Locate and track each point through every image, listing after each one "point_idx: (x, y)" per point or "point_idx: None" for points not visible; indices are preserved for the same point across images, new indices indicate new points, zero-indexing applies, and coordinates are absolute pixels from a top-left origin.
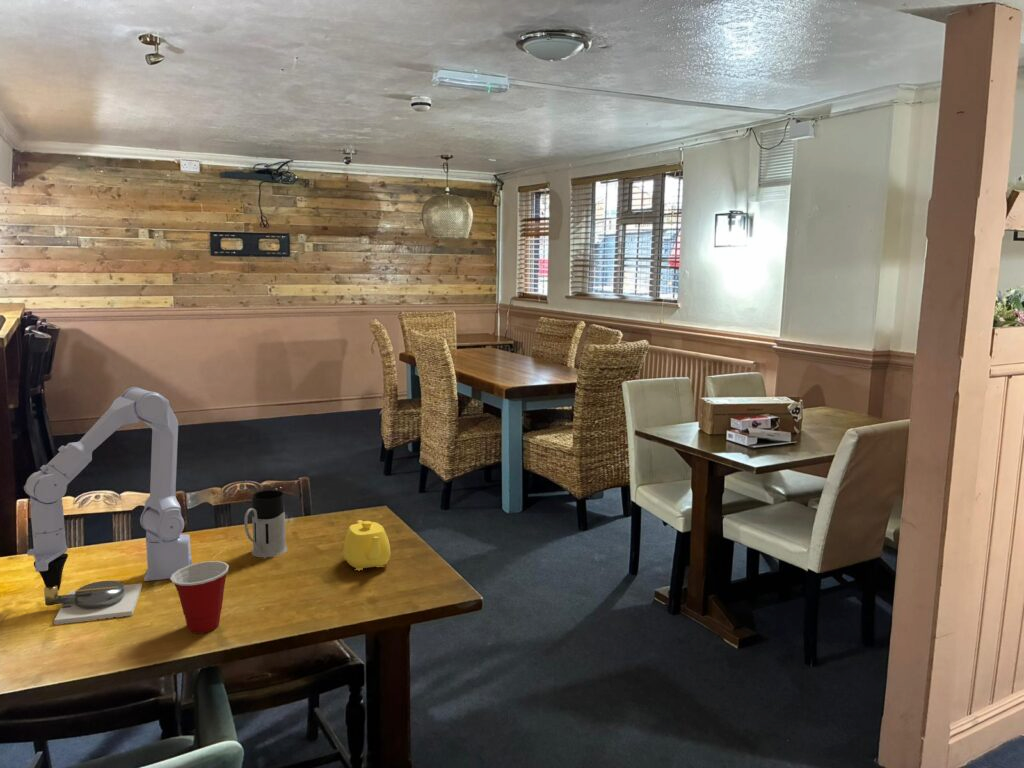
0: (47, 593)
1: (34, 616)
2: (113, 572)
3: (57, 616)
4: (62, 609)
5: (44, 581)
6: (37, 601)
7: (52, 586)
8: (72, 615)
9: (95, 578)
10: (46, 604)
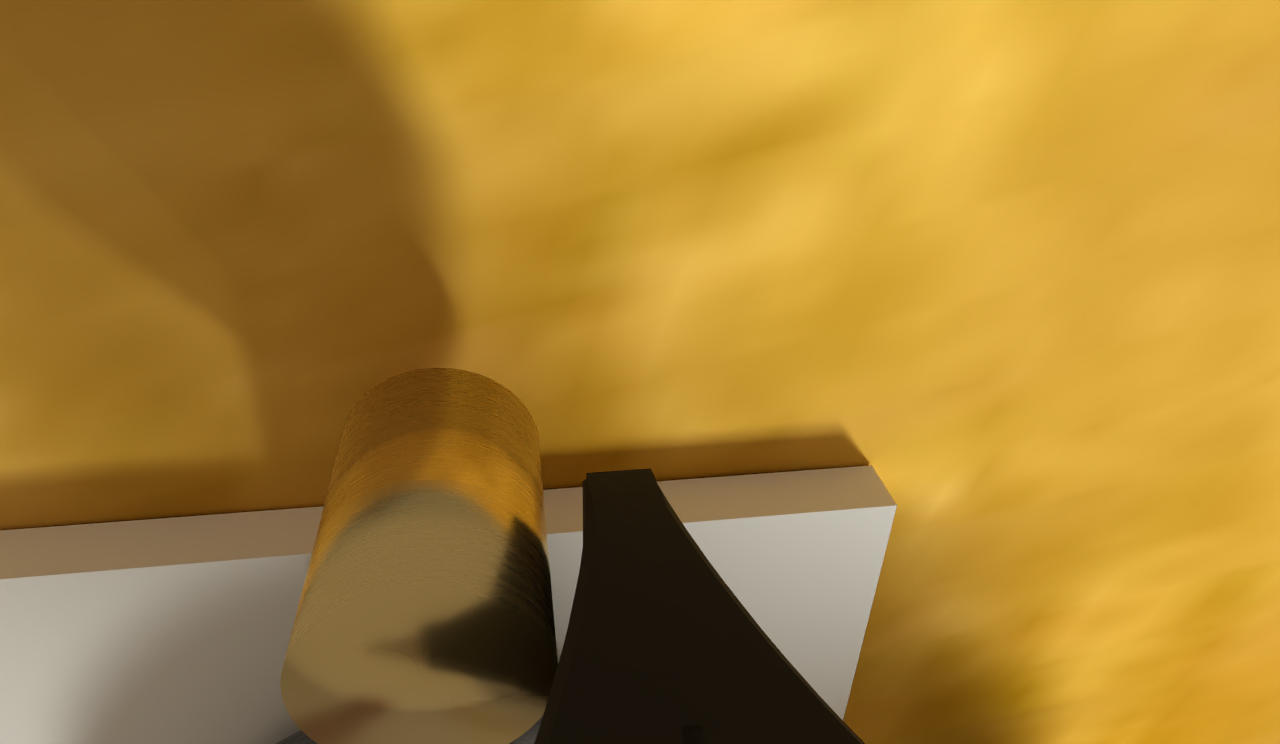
0: (301, 597)
1: (241, 198)
2: (1276, 661)
3: (18, 589)
4: (268, 580)
5: (565, 651)
6: (857, 87)
7: (460, 700)
8: (54, 724)
9: (1234, 564)
10: (358, 410)
